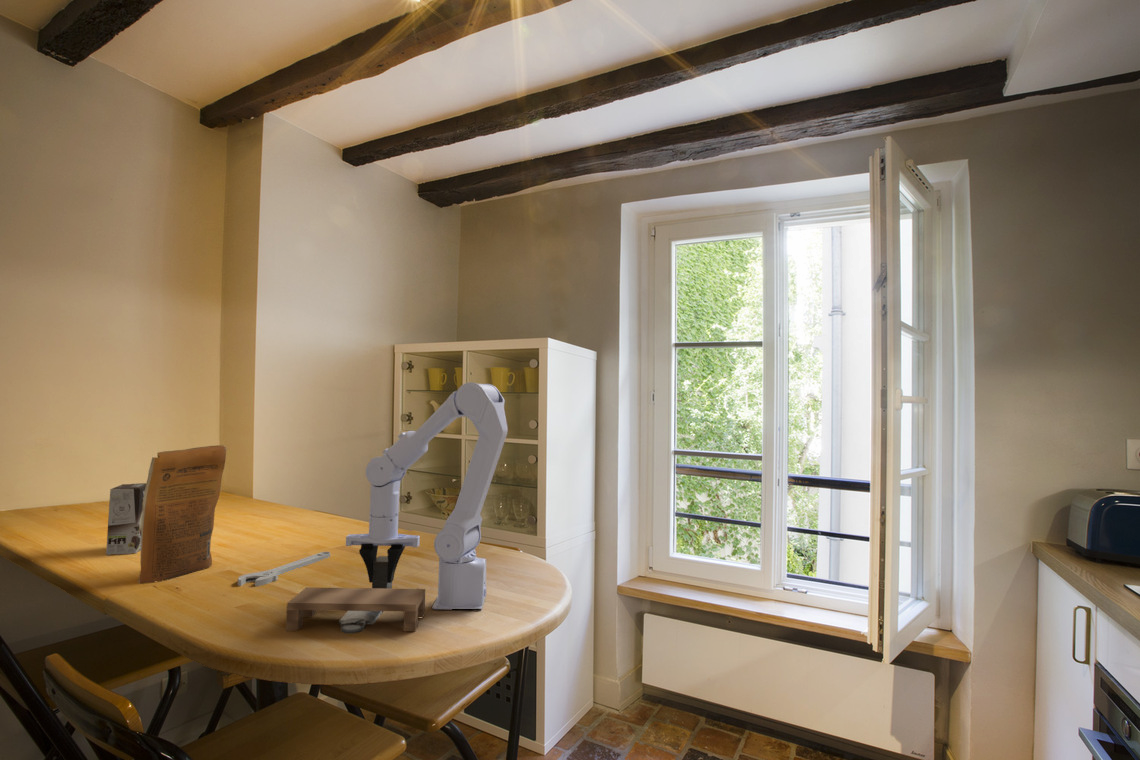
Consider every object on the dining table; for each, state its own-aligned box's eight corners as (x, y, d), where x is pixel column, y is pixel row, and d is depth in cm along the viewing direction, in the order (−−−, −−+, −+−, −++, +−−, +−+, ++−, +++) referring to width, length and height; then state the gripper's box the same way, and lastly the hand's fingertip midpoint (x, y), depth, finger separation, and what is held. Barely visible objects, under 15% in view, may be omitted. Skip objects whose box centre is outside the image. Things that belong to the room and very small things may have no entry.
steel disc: (368, 625, 101) (369, 618, 101) (358, 634, 97) (359, 627, 97) (347, 624, 102) (347, 617, 102) (336, 633, 98) (336, 626, 98)
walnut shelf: (424, 614, 107) (425, 589, 107) (415, 631, 99) (416, 604, 99) (305, 612, 106) (306, 587, 106) (285, 630, 98) (287, 602, 98)
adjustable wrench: (323, 557, 144) (324, 550, 144) (343, 560, 141) (343, 553, 141) (232, 585, 120) (232, 577, 120) (254, 590, 118) (254, 581, 118)
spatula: (399, 590, 120) (400, 556, 120) (373, 624, 102) (374, 584, 102) (370, 589, 119) (371, 556, 120) (339, 623, 101) (341, 584, 102)
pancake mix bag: (230, 564, 134) (236, 445, 135) (145, 588, 116) (153, 451, 117) (210, 560, 136) (216, 443, 137) (124, 584, 118) (131, 449, 119)
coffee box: (137, 553, 140) (140, 487, 140) (104, 555, 137) (108, 488, 138) (148, 544, 148) (152, 482, 149) (118, 546, 146) (122, 483, 146)
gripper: (423, 511, 122) (421, 575, 121) (354, 510, 121) (352, 574, 120) (416, 518, 115) (413, 586, 114) (343, 517, 114) (340, 585, 113)
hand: (381, 581), depth 117 cm, fingers closed on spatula, 3 cm apart
